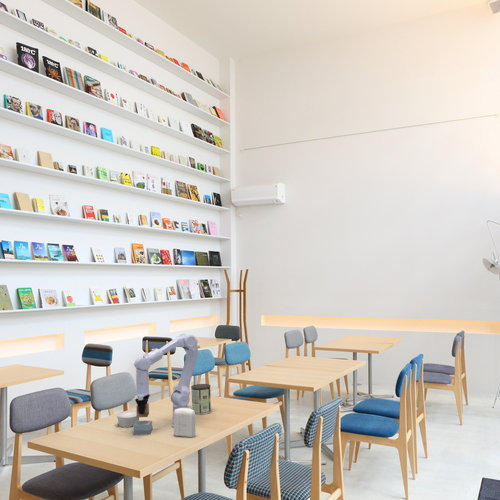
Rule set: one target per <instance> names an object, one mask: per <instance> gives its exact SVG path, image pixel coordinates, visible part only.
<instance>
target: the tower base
mask: <svg viewBox="0 0 500 500" xmlns="http://www.w3.org/2000/svg"><path fill="white" fill-rule="evenodd" d="M153 428H154V427H153V424H152V427H151V428H150V429H149V430H143V431H134V429H133V430H132V435H133V436H143V435H145V436H146V435H147V436H149V435H151V434H152V432H153Z"/></svg>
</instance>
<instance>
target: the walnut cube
mask: <svg viewBox="0 0 500 500" xmlns="http://www.w3.org/2000/svg"><path fill="white" fill-rule="evenodd" d="M136 412H137V417H139V418H148V416H149V415H150V403H148V402H147V404H146V407H145V413H144V414H140V413H139V409H138V405H137V404H136Z"/></svg>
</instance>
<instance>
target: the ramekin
mask: <svg viewBox="0 0 500 500" xmlns="http://www.w3.org/2000/svg"><path fill="white" fill-rule="evenodd" d="M116 418H117V423H118V426H119V427H121V428H131V427H133V425H134V424H135V423H136V422H137V421H140V417H137V410H136V411H135V410H128V411H123V412H120V413H117V414H116Z"/></svg>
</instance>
